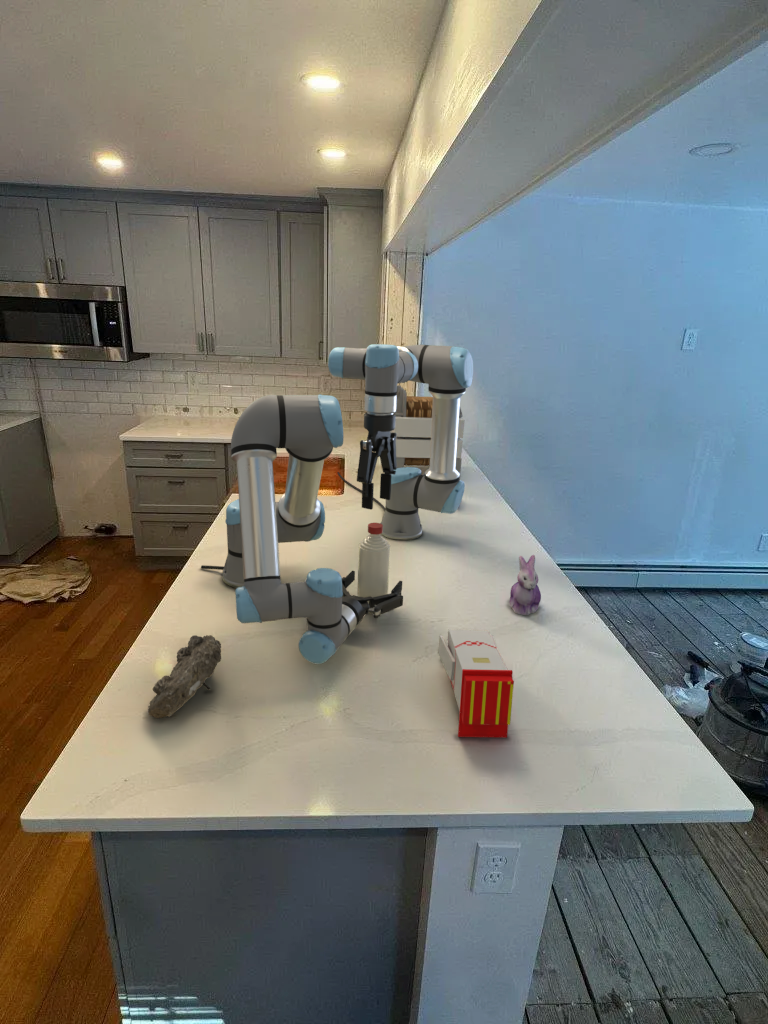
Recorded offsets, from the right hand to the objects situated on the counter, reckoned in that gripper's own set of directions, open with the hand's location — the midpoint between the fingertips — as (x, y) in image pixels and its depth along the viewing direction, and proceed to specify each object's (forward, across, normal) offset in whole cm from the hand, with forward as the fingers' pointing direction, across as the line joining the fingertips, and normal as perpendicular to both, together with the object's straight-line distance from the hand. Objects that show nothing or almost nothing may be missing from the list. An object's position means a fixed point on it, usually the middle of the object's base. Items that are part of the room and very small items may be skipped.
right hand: (376, 503), depth 142 cm
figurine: (+29, -22, +35) cm, 50 cm away
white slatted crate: (+29, -124, -46) cm, 136 cm away
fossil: (+29, +50, -14) cm, 59 cm away
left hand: (+23, -2, 0) cm, 23 cm away
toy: (+29, +20, +36) cm, 50 cm away
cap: (+6, 0, 0) cm, 6 cm away
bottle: (+29, 0, 0) cm, 29 cm away
